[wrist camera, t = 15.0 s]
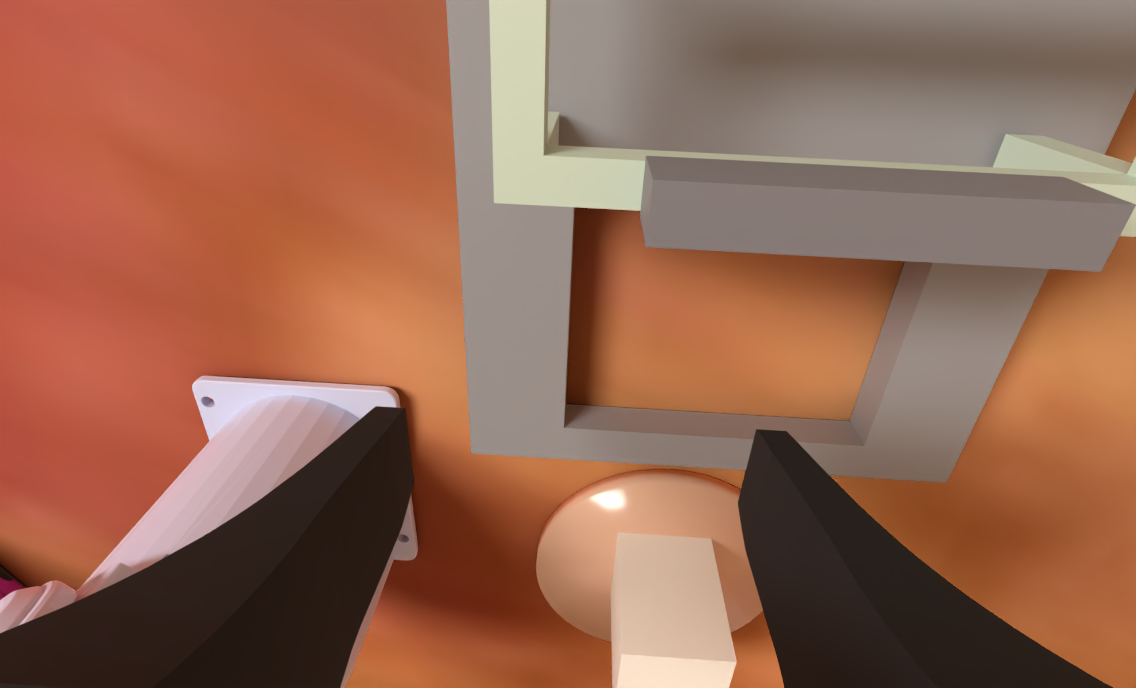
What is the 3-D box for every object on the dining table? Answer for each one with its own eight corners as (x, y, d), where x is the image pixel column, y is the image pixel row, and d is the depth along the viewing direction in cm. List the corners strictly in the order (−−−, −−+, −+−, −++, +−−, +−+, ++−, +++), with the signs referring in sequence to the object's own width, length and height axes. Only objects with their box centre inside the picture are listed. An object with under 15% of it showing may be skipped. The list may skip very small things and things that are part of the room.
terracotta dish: (752, 640, 30) (756, 656, 29) (536, 626, 30) (534, 640, 30) (805, 477, 25) (811, 491, 24) (539, 461, 25) (537, 474, 24)
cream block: (697, 598, 27) (717, 724, 23) (610, 593, 28) (612, 717, 23) (711, 538, 25) (736, 662, 21) (617, 532, 26) (621, 654, 21)
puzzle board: (927, 456, 24) (946, 482, 22) (478, 428, 24) (471, 453, 23) (1314, -410, 12) (1398, -459, 11) (438, -436, 13) (419, -486, 11)
